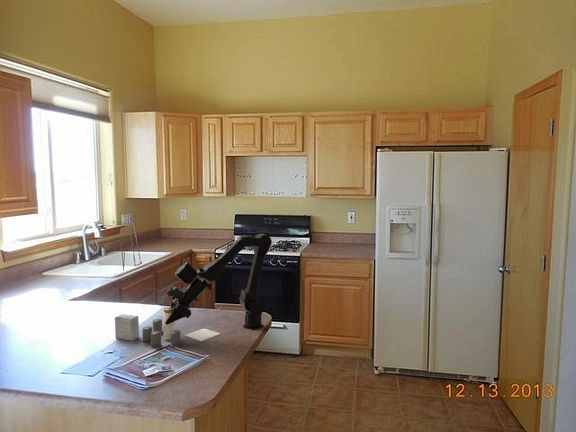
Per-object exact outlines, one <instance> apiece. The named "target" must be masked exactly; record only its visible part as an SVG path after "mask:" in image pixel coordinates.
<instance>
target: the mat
mask: <svg viewBox="0 0 576 432" xmlns="http://www.w3.org/2000/svg"><path fill="white" fill-rule="evenodd" d="M218 336H221V333H220V332H217V331H214V330H210V329H207V328H202V329H198V330H196V331H193V332H190V333H187V334H184V337H186V338H189V339H193V340H195V341H198V342H205V341H207V340H209V339H212V338H215V337H218Z"/></svg>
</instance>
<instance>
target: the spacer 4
mask: <svg viewBox="0 0 576 432" xmlns="http://www.w3.org/2000/svg"><path fill="white" fill-rule="evenodd" d="M181 341H182V338H181V330H179V329H178V330H177V329H175V330H174V331H171V340H170V346H171V345H172V346H174V347H173V348H177V347H180V346H181V343H182V342H181ZM172 346H171V347H172Z"/></svg>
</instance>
